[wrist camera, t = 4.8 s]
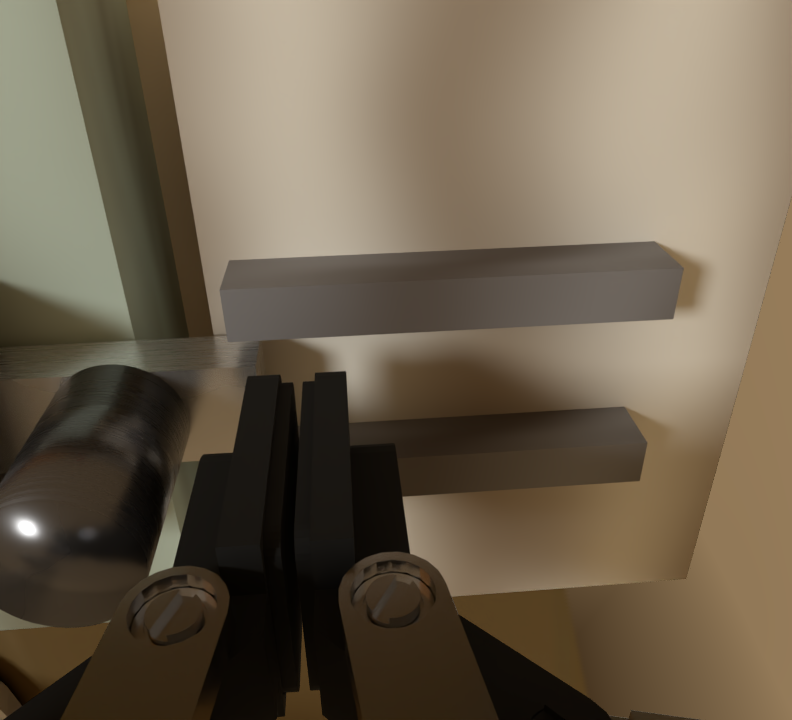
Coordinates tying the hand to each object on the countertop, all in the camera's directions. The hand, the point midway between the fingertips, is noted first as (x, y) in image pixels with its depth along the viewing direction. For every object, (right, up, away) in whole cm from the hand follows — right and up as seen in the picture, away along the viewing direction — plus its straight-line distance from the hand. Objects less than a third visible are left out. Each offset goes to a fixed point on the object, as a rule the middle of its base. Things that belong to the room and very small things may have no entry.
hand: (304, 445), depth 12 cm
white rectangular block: (-1, +4, +7) cm, 8 cm away
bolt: (-5, +1, +1) cm, 5 cm away
